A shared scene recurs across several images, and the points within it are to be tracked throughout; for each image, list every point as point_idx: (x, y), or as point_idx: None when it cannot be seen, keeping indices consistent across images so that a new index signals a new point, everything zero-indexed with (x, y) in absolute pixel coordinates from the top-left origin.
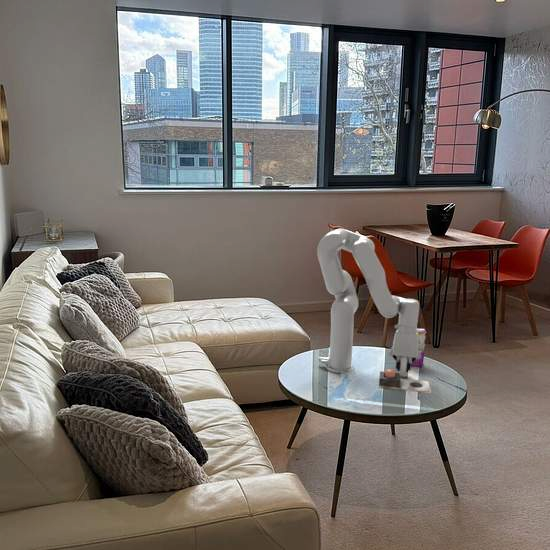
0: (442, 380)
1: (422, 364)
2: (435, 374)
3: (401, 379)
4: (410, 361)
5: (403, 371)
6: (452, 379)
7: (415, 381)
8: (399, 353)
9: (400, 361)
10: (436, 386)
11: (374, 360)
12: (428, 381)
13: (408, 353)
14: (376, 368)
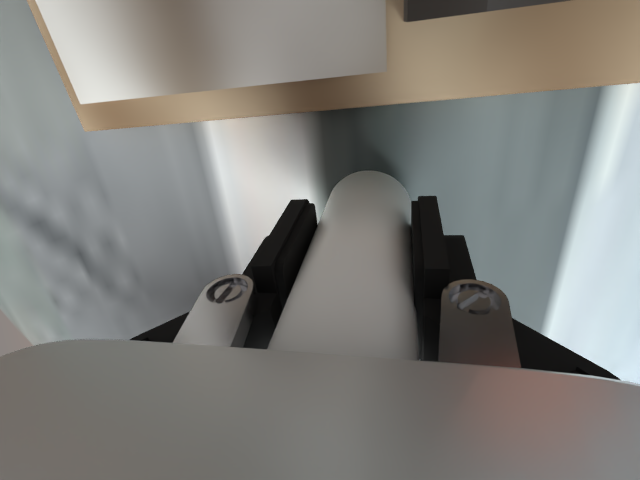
0: (50, 237)
1: None
2: (137, 329)
3: (374, 48)
4: (222, 307)
5: (352, 199)
6: (10, 273)
7: (196, 44)
8: (513, 448)
9: (408, 308)
10: (18, 71)
11: None
12: (89, 123)
13: (131, 445)
14: (616, 353)
